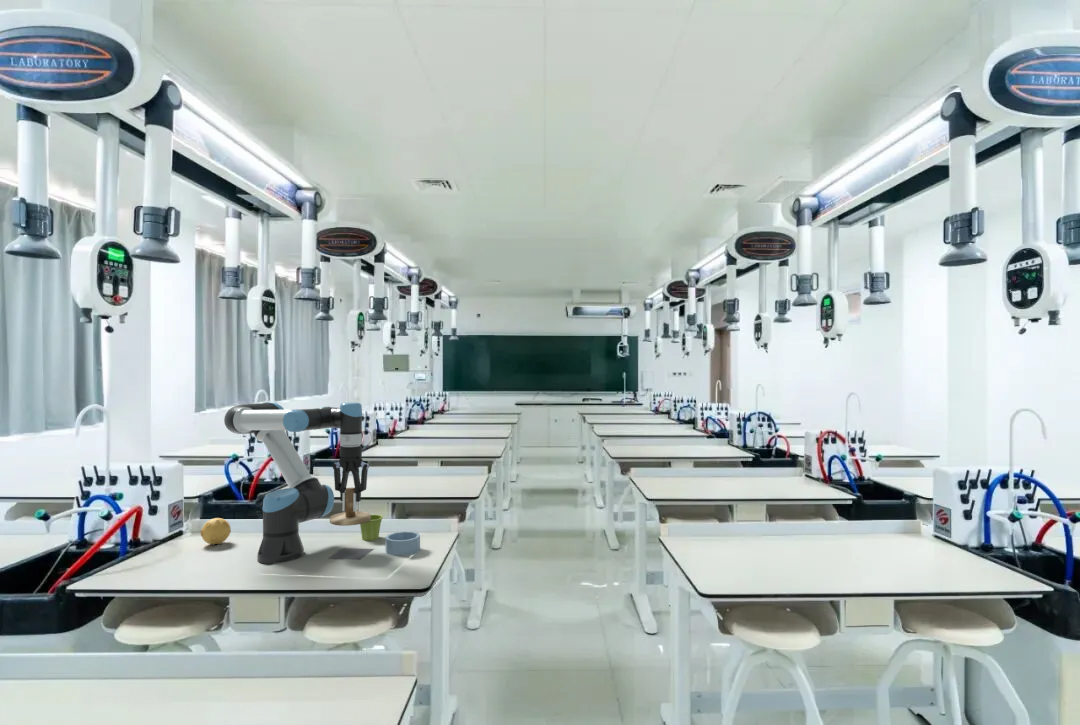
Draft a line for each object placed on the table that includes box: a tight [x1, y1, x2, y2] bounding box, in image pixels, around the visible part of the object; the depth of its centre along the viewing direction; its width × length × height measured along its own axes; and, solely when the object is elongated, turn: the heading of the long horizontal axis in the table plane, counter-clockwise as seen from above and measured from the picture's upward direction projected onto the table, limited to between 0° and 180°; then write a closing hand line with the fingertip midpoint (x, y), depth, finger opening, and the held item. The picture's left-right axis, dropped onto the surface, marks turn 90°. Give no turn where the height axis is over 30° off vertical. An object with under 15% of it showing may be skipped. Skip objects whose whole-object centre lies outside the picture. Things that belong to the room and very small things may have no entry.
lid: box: [329, 486, 372, 527], centre depth 208 cm, size 14×14×12 cm
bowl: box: [384, 531, 421, 556], centre depth 211 cm, size 12×12×6 cm
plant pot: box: [359, 514, 383, 542], centre depth 227 cm, size 9×9×9 cm
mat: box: [327, 547, 375, 561], centre depth 207 cm, size 12×12×1 cm
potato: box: [200, 517, 231, 545], centre depth 221 cm, size 10×10×10 cm
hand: (350, 510), depth 208 cm, fingers closed on lid, 3 cm apart
